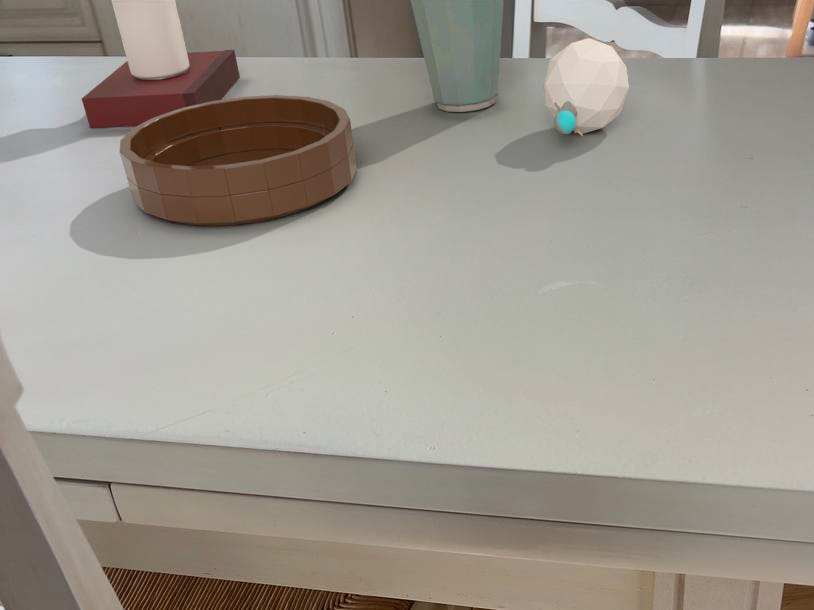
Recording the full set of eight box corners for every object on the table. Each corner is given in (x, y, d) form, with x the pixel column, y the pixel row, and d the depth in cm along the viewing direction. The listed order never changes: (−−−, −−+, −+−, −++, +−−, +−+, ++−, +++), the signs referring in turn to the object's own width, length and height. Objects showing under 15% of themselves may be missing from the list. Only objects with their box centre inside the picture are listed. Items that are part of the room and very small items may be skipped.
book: (89, 128, 108) (80, 98, 106) (140, 82, 122) (133, 54, 120) (200, 123, 107) (193, 92, 105) (240, 77, 120) (234, 49, 118)
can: (143, 65, 115) (112, -56, 108) (198, 63, 115) (171, -59, 107) (122, 82, 110) (88, -44, 103) (179, 80, 110) (149, -48, 102)
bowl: (104, 234, 85) (85, 174, 82) (173, 154, 100) (160, 100, 97) (336, 225, 83) (326, 164, 80) (371, 145, 98) (364, 90, 95)
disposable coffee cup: (468, 125, 101) (457, -47, 91) (392, 109, 107) (373, -55, 97) (534, 97, 107) (530, -68, 97) (459, 83, 113) (447, -74, 103)
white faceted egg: (652, 77, 97) (628, 134, 90) (585, 125, 102) (557, 183, 95) (605, 6, 94) (575, 59, 86) (538, 59, 99) (505, 114, 91)
